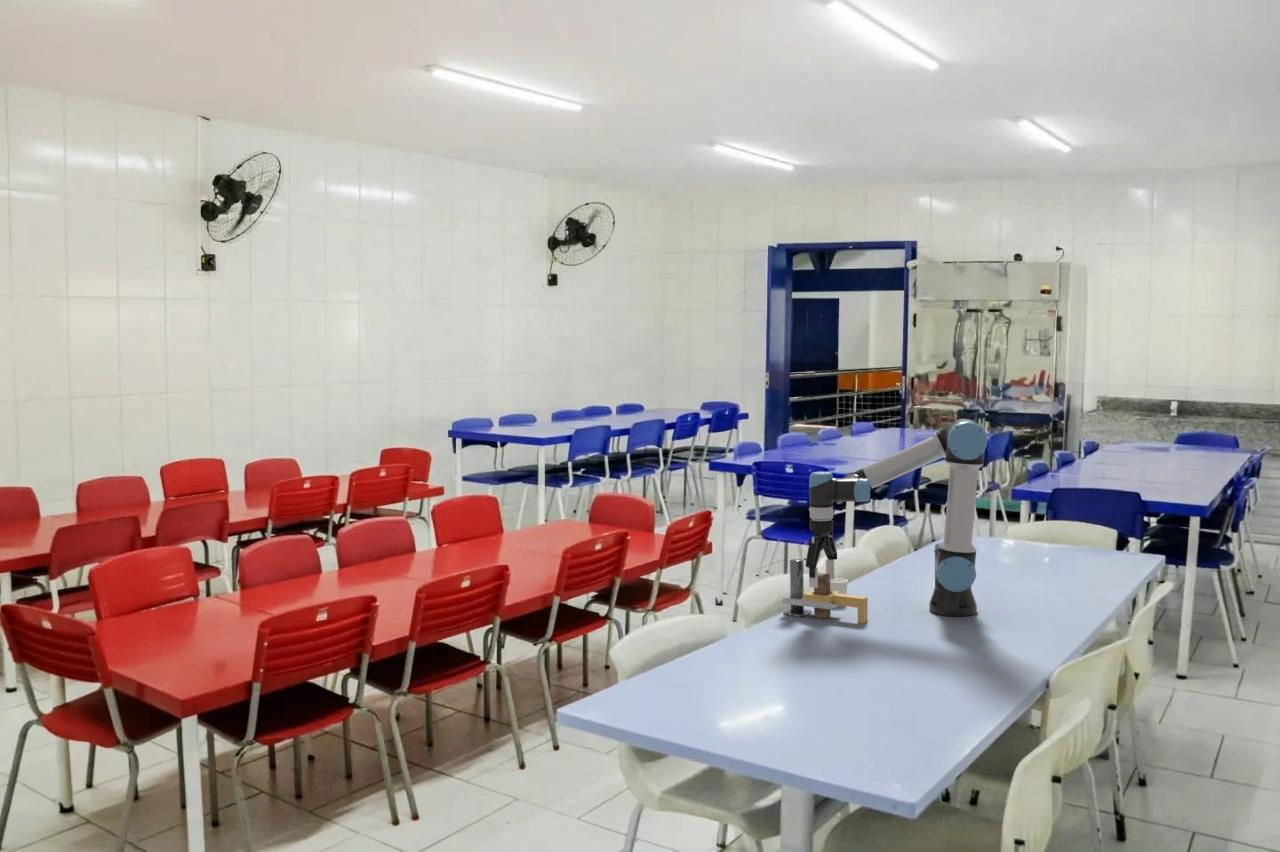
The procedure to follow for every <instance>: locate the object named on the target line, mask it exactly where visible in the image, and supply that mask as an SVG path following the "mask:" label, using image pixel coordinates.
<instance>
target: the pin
mask: <svg viewBox="0 0 1280 852" xmlns="http://www.w3.org/2000/svg"><path fill="white" fill-rule="evenodd" d="M813 589H814V594H818V595H828V594H830V574H826V573H822V572H821V573H820V572H819V573H818V588H814V587H813ZM831 610H832V609H831ZM831 610H830V609H822V608H814V607H813V611H814V612H813V614H814V616H815V617H820V618H819V619H823V618H826V619H828V618H830V617H831V616H830V615H831ZM829 616H830V617H829ZM815 617H814V618H815ZM827 617H828V618H827Z"/></svg>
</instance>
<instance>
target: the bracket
mask: <svg viewBox="0 0 1280 852" xmlns="http://www.w3.org/2000/svg"><path fill="white" fill-rule="evenodd" d="M804 593H805V594H804V600H806V601H815V602H823V603H831V602H834V605H838V606H841V607H842V606H843V607H850V608H857V623H858V624H863V625H864V624H866V623H868V620H869V619H868V618H869V617H868V616H869V614H868V613H869V612H868V611H869V610H868V608H869V607H868V601H869V599H868V596H864V595H855V594H847V593H846V594H840V591H832V590H830V594H828V595H818V594H814V588H813V589H811V590H808V591H807V592H804Z"/></svg>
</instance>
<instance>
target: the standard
mask: <svg viewBox="0 0 1280 852" xmlns="http://www.w3.org/2000/svg"><path fill="white" fill-rule="evenodd" d="M789 574H790V575H789V576H790V578H789V579H790V581H789V582H790V583H789V585H790V586H789V588H790V594H787V595H786V596H784V597H782V604H784V605H789V606H790V608H788V609H786V610H785V611H783V612H782V613H783V614H791V615H797V616H796V617H798V616H804V615H805V614H807V613H808V612H810V611H811V612H812V609H806V608H805V607H807V608H808V607H809V608H813V609H814V608H822V609H830V610H834V608H836V607H838V606H839V605H834V602H831V603H823V602H815V601H806V600H804V594H805V593H806V592H805V591H804V589H805V588H804V584H805V583H804V581H805V580H804V578H805V577H804V559H800V558H792V559H790V560H789ZM783 614H782V615H783ZM807 615H808V614H807ZM804 617H805V616H804Z"/></svg>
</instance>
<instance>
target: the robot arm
mask: <svg viewBox="0 0 1280 852" xmlns="http://www.w3.org/2000/svg"><path fill="white" fill-rule="evenodd" d="M987 446H988V435H987V433H986V431H985V428H983V426H981V424H979V423H978V422H976V421H975V420H973V419H970V418H966V417H965V418H959V419H956V420H954V421H952V422H951V423H949V424H948V425H945V426H944V427H942V428H940V429H939V430H937V431H934V432H933V435H932V436H931V437H928V438H927V439H924V440H921V441H920V442H917V443H916V444H913V445H911V446H907V447H906V448H904V449H902V450H899V451H897V452H896V453H893V454H891V455H889V456H886V457H884V458H883V459H879V460H877V461H876V462H874V463H871V464H869V465H866V466H864V467H862V468H860V469H857V470H856V471H853V472H851V471H850V472H849V473H847V474H846V475H845V476H844V477H843V478H837V477H836V478H835V477H834V476H833V473H832V472H831V471H814V472H811V474H810V475H809V479H808V480H809V485H808V491H809V493H808V495H809V508H808V511H809V518H810V520H809V530H810V532H812V533H813V536H809V542H808V544H809V545H808V547H807V548H808V550H807V555H806V559H805V560H806V561H805V568H808V587H809V588H813V589H814V588H818V572H819V571H818V569H819V568H818V567H817V566H818V562H819V559H820V556H821V552H822V551H823V552H824V554H825V556H826V559H825V574H830V579H833V580H834V579H835V578H836V577H835V561H836V560H837V559H838V552H837V551H838V550H837V547H836V543H835V539H834V538H835V537H834V520H833V519H834V505H833V502H852V503H853V502H854V503H862V502H869V501H870V498H871V490H872V489H874V488H877V487H878V486H880V485H883V484H886V483H888V482H890V481H892V480H895V479H897V478H898V477H899V478H900V477H901V476H903V475H906V474H908V473H910V472H912V471H913V472H914V471H915V470H917V469H919V468H922V467H924V466H926V465H928V464H931V463H933V462H935V461H939V460H940V459H942V458H944V459H945V460H944V461H945V463H946V464H947V465H948V466H949V475H948V486H947V488H948V489H947V498H946V510H945V511H946V512H945V522H944V536H943V537H944V538H943V541H942V542H941V541H940V542H937V543H935V545H934V551H933V553H934V589H933V592H932V595H931V598H930V601H929V604H928V605H929V611H930V612H931V613H933V614H935V615H940V616H946V617H968V616H972V615H976V614H977V612H978V607H977V602H976V599H975V596H974V594H973V590H972V586H973V584H974V583H975V581H976V578H977V572H976V571H977V570H976V558H977V549H976V547H975V546H974V545H973V534H974V522H975V510H976V500H977V487H978V485H977V484H978V473H979V469H981V468H982V467H983V466H984V463H985V454H986V453H985V451H986V449H987Z"/></svg>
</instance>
